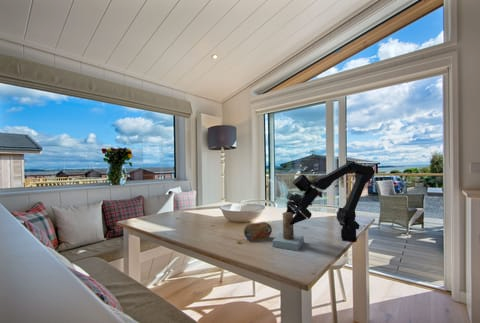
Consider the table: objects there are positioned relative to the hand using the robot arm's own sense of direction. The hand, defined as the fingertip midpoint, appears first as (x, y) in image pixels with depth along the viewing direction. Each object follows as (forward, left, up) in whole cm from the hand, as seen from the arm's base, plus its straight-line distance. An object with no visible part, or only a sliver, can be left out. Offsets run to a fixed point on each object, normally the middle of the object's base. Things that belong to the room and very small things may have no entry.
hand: (286, 221), depth 112 cm
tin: (+16, -2, -11) cm, 20 cm away
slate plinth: (-1, 0, -11) cm, 11 cm away
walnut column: (-1, 0, -8) cm, 8 cm away
